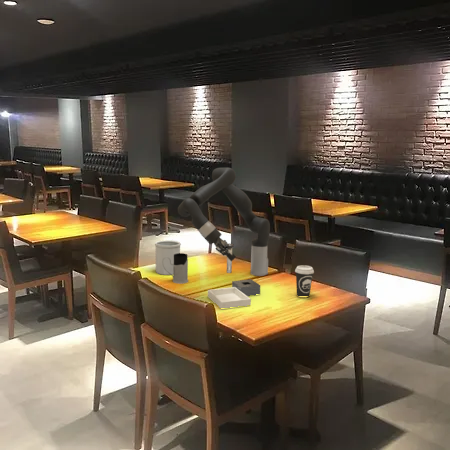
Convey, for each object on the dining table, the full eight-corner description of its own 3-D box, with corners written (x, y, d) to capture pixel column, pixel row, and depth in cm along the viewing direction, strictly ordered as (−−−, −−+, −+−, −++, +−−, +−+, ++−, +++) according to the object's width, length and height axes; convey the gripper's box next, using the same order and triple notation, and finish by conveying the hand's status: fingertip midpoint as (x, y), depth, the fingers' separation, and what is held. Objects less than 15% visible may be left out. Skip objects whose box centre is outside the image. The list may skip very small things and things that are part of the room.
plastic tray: (234, 293, 258) (235, 286, 257) (250, 305, 241) (250, 298, 240) (207, 296, 252) (207, 290, 251) (221, 309, 235) (221, 302, 234)
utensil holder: (166, 266, 304) (166, 238, 300) (185, 271, 295) (185, 242, 292) (149, 272, 292) (149, 242, 288) (168, 276, 283) (168, 246, 280)
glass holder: (188, 283, 272) (188, 257, 269) (162, 283, 271) (162, 256, 268) (188, 278, 281) (188, 252, 278) (163, 278, 280) (162, 252, 277)
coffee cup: (314, 294, 259) (316, 266, 256) (309, 300, 250) (311, 271, 247) (296, 291, 263) (298, 264, 260) (291, 296, 254) (292, 268, 251)
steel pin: (231, 270, 246) (232, 243, 243) (234, 273, 242) (235, 245, 240) (223, 271, 244) (224, 243, 242) (226, 273, 241) (227, 245, 238)
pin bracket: (250, 288, 267) (251, 279, 266) (260, 294, 257) (260, 285, 256) (232, 290, 262) (232, 281, 261) (240, 297, 252) (240, 287, 252)
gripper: (211, 230, 234) (236, 257, 234) (218, 225, 247) (242, 250, 247) (200, 240, 236) (225, 267, 236) (208, 234, 250) (231, 260, 249)
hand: (233, 258), depth 242 cm, fingers closed on steel pin, 2 cm apart
